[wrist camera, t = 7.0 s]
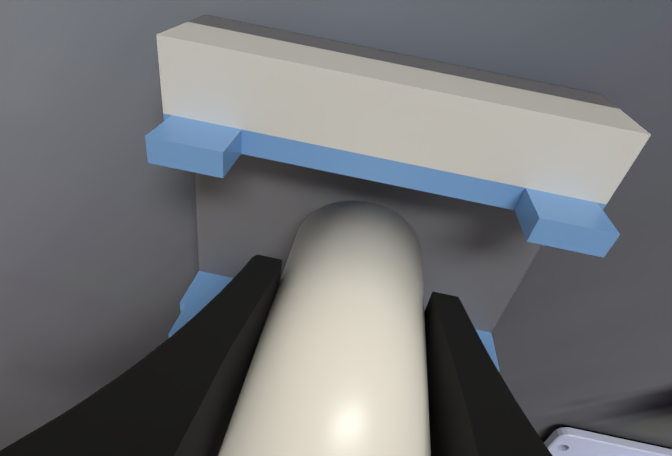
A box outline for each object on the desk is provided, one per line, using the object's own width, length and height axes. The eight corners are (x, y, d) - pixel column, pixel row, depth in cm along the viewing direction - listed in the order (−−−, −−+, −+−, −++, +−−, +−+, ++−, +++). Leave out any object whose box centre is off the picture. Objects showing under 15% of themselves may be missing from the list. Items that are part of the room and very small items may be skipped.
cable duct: (400, 470, 22) (400, 555, 19) (214, 429, 22) (184, 507, 19) (602, 94, 10) (683, 161, 7) (204, 14, 10) (123, 48, 7)
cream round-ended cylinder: (403, 310, 13) (400, 647, 7) (289, 285, 13) (187, 599, 7) (439, 216, 11) (478, 589, 5) (301, 187, 11) (169, 519, 5)
